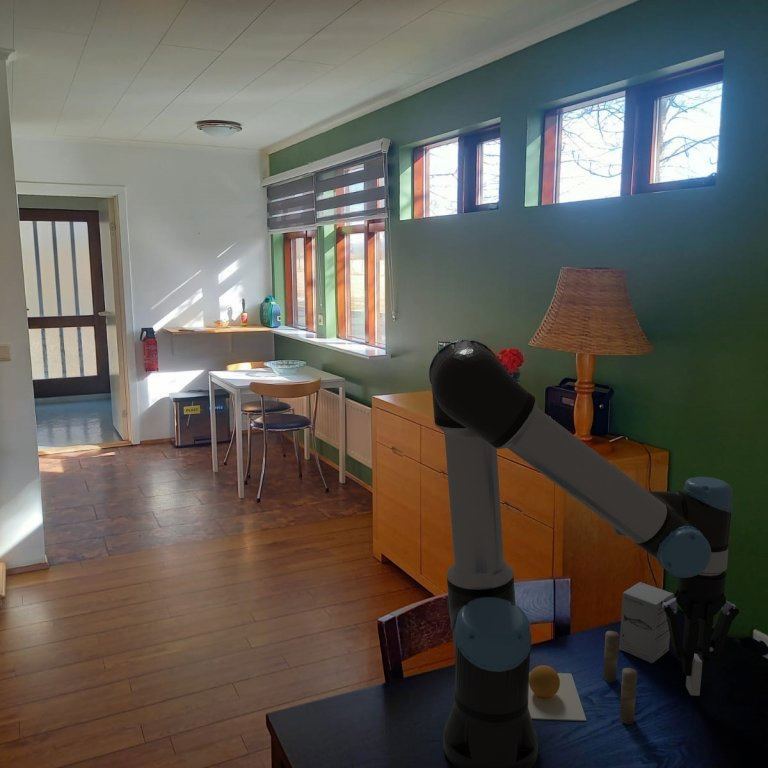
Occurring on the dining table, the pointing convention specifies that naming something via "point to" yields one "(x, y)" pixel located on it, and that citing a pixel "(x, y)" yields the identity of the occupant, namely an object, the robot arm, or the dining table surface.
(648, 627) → the supplement box
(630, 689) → the right post
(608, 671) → the left post
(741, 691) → the dining table surface
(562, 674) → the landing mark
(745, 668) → the dining table surface
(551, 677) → the ball
